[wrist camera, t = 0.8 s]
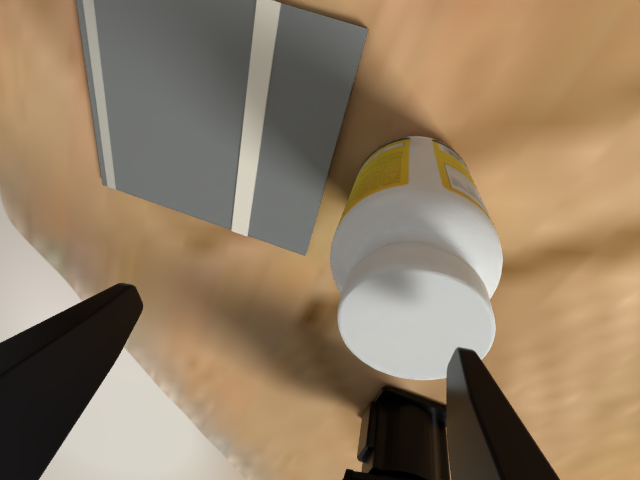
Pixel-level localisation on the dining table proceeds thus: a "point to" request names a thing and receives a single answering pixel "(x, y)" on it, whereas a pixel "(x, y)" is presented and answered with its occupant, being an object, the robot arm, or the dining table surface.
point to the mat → (220, 107)
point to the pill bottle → (415, 261)
